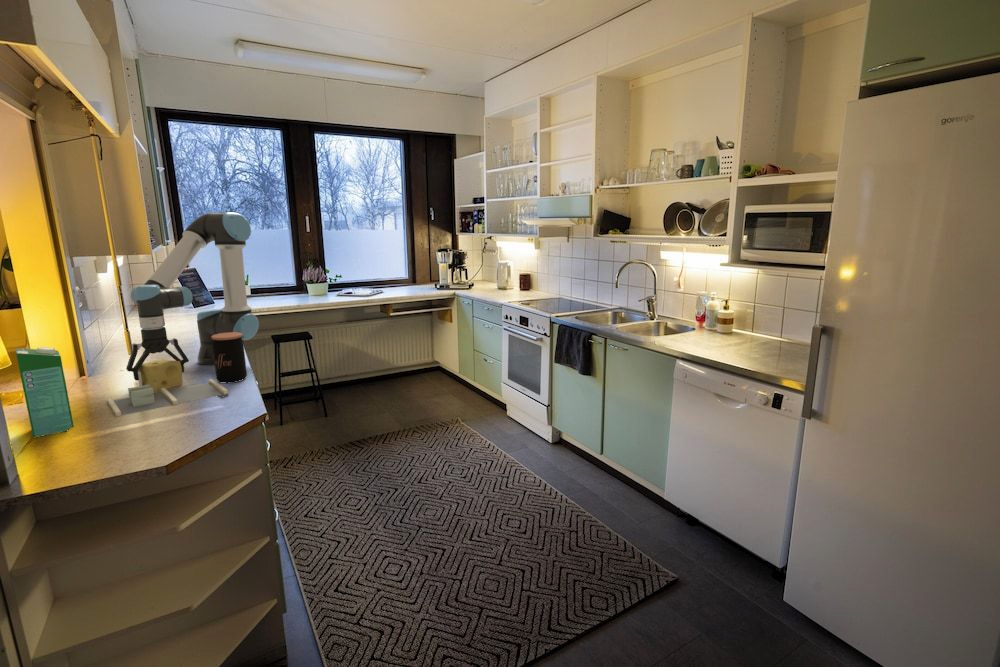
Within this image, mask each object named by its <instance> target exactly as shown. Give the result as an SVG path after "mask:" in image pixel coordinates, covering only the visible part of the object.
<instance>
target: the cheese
mask: <svg viewBox="0 0 1000 667" xmlns="http://www.w3.org/2000/svg"><path fill="white" fill-rule="evenodd" d="M139 371H140V372H141V378H142V385H143V386H144V385H150V386H151V387H152V388H153V392H154V393H156V392H161V388H166V389H167V390H168V389H169V388H170V389H171V388H173V387H177V386H181V385H183V382H182V380H183V373H182V367H181V363H180V361H176V360H171V359H164V358H160V359H157V360H153V361H152V360H151V361H149V362H143V364H142V365H141V367H140V368H139Z"/></svg>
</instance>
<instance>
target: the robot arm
mask: <svg viewBox="0 0 1000 667" xmlns="http://www.w3.org/2000/svg"><path fill="white" fill-rule="evenodd" d="M251 234H252V228H251V225H250V222H249V221H248V219H247V218H245V216H244V215H243V214H240V213H237V212H231V211H230V212H207V213H204V214H202V215H200V216H199V217H196V218H195V220H193V221H192V222H191V223H190V224H189V225H188V226H187V228H185V230H183V232H182V238H181V239H180V240H179V241H178V242H177V244H176V245H175V246H174V247H173V249H172V250H171V251H170V252H169V254H168V255H167V256H166V257H165V258H164V260H163V261H162V262H161V263H160V264H159V266H158V267H156V268H157V269H156V270H155V271H153V273H152V275H151V276H150V277H149V278H148V279H147V281H146V282H145V283H144V284H141V285H137V286H136V287H135V286H134V288H133V289H132V290H131V291H130V299H131V301H132V302H133V303H134V304H135V305H136V308H137V313H138V320H139V328H141V330H140V333H141V334H140V335H141V340H142V341H141V343H135V342H134V343H132V344H131V347H132V350H131V354H130V356H129V359H128V362H127V365H126V368H125V369H126V371H127V372H132V373H133V374H132V375H133V379H134V381H136V382H138V387H139V386H143V385H142V378H141V372H140V371H139V368H140V367H141V365H142V364H143V363H145V360H147V358H148V356H150V354H157V353H159V354H160V353H163V352H165V353H166V354H167V355H169V356H170V357H171V358H172V359H173V360H174V361H180V363H181V367H182V374H183V373H185V364H186V363H188V362H189V361H190V359H189V358H188V356H187V355H186V354H185V352H184V351H183V349H182V347H180V345H179V340H178V338H170V339H168V334H167V329H166V327H165V326H166V323H165V322H166V321H165V316H164V315H165V313H164V310H168V309H175V308H183V307H185V306H189V305H191V304H192V303H193V299H194V298H193V293H192V291H191V289H189V288H188V287H186V286H176V287H172V285H173V284H174V283H175V282H176V280H178V278H179V277H180V275H181V274H182V273H183V271H184V270H185V269H186V268H187V267H188V265H190V263H191V261H192V260H193V259H194V258H195V256H196V255H197V253H198V252H199V251H200V250H201V249H204V248H206V247H207V245H208V244H210V243H211V242H214V246H215V247H216V248H218V250H219V257H220V258H219V259H220V266H221V268H220V269H221V279H222V288H223V289H222V290H223V300H224V306H223V307H222V308H214V309H208V310H203V311H202V310H201V311H200V312H198V313H197V315H196V318H197V319H196V323H197V328H198V329H197V331H198V337H199V344H200V346H199V350H198V355H197V362H198V364H200V365H215V364H214V356H213V347H212V342H213V339H212V338H211V336H212V335H215V334H220V333H228V332H239V333H242V337H241V338H242V339H243V341H248V340H251V339H252V338H253V337H255V335H256V334H257V332H258V331H259V326H260V322H259V319H258V317H257V315H255V314H253V312H252V307H251V306H249V305H248V300H247V299H248V298H247V290H246V289H247V287H246V277H245V264H244V254H243V249H244V248H245V247H246V246H247V244H246V241H247V240H249V239H250V237H251ZM169 344H171V345H172V346H173V347H174V348H175V350H176V351H177V352H178V354H179V355H180V357H181V358H182V359H180V358H179V357H178V356H177V355H175V354H174V353H173V352H172V351H171V350H170V349H169V348H167V347H168V346H169ZM141 347H142V348H143V349H144V351H143V352H142V355H141V356H140V357H139V359H138V360H137V362H136V357H137V355H138V352H139V350H141ZM135 362H136V363H135ZM134 363H135V364H134ZM183 380H184V379H182V383H183Z"/></svg>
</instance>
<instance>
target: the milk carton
mask: <svg viewBox="0 0 1000 667" xmlns="http://www.w3.org/2000/svg"><path fill="white" fill-rule="evenodd" d="M14 349H15V355H16V359H17V360H16V361H17V364H18V369H19V375H20V380H21V385H22V389H23V394H24V399H25V405H26V408H27V413H28V418H29V424H30V428H31V435H32V438H33V437H38V436H42V435H47V436H49V435H48V434H52V435H54V434H53V433H57V434H59V433H58V432H61V433H64V432H63V431H66V432H68V431H67V430H69V428H75V425H74V421H73V415H72V409H71V404H70V399H69V395H68V393H69V392H68V387H67V383H66V382H67V381H66V378H65V372H64V367H63V362H62V361H63V360H62V356H61V354H60V352H59V350H56V348H53V347H46V346H44V347H43V346H40V347H39V346H38V347H37V348H36V349H35V348H20V347H18V348H17V347H16V348H14ZM69 431H70V430H69ZM38 438H39V437H38Z"/></svg>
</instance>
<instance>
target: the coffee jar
mask: <svg viewBox="0 0 1000 667" xmlns="http://www.w3.org/2000/svg"><path fill="white" fill-rule="evenodd" d="M241 337H242V333H239V332H228V333H220V334H215V335H212V336H211V338H212V339H213V342H212V347H213V356H214V364H213V365H214V369H215V370H214V371H215V379H216V381H218V382H219V383H220V382H226V383H225V384H229V383H228V382H234V383H236V382H235V381H239V380H242V379H244V378H245V377H247V376H248V374H247V364H246V363H247V362H246V355H245V346H244V340H243V339H242V338H241ZM245 379H246V378H245ZM245 379H244V380H245ZM242 381H243V380H242ZM239 382H240V381H239Z"/></svg>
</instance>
